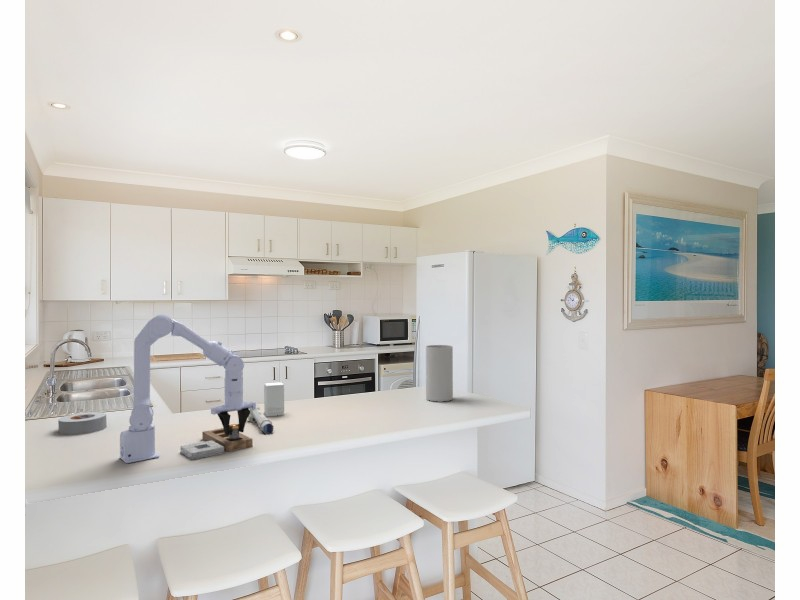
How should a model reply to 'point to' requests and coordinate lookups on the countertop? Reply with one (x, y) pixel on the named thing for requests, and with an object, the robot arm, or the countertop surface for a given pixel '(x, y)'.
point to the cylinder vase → (439, 373)
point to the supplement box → (274, 399)
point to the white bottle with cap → (260, 420)
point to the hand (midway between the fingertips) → (234, 433)
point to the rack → (227, 440)
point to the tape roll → (82, 423)
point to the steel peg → (234, 432)
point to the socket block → (202, 449)
